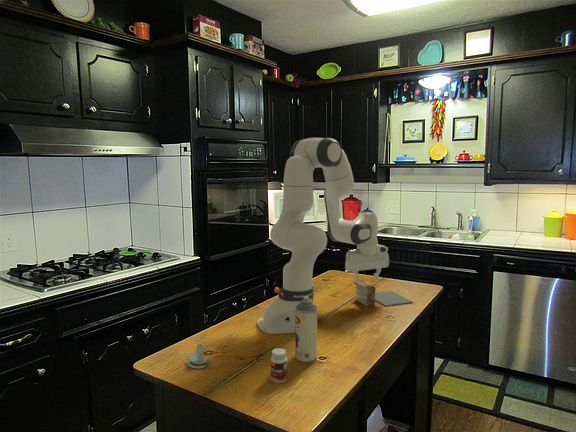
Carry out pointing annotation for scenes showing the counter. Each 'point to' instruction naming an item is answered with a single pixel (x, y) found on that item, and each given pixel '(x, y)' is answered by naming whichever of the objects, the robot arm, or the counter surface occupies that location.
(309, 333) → the aerosol can
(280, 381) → the pill bottle
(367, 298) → the wooden block
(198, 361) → the pacifier
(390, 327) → the counter surface
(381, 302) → the rubber mat
